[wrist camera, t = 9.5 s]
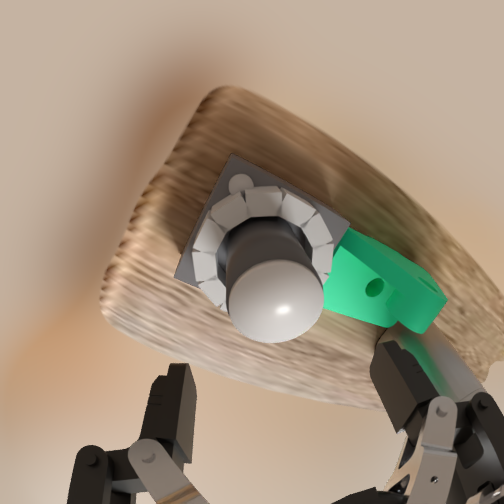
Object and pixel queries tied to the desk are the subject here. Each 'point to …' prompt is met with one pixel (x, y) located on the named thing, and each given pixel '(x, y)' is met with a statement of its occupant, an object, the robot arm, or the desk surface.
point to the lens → (270, 281)
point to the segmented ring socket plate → (255, 205)
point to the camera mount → (380, 285)
